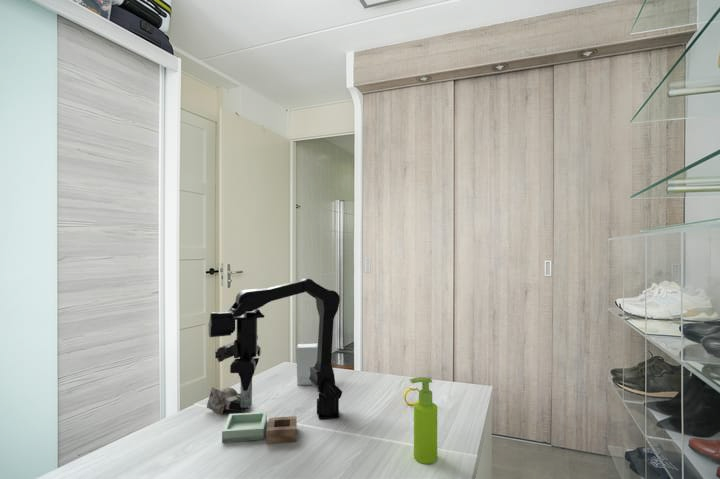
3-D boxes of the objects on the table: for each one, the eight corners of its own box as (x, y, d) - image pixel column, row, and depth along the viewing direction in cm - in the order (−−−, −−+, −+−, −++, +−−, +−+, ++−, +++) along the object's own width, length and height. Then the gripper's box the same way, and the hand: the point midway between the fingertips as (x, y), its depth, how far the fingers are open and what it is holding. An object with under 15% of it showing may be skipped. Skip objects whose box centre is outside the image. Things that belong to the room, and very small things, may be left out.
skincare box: (318, 380, 155) (319, 342, 155) (317, 385, 149) (317, 346, 149) (297, 380, 155) (298, 342, 155) (295, 385, 149) (296, 346, 149)
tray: (266, 421, 118) (266, 411, 118) (263, 439, 107) (263, 428, 107) (229, 424, 116) (229, 414, 116) (221, 442, 105) (222, 431, 105)
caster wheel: (251, 413, 129) (231, 421, 120) (226, 401, 134) (205, 407, 125) (257, 393, 130) (237, 400, 121) (231, 382, 134) (211, 387, 125)
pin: (254, 402, 114) (255, 367, 114) (253, 408, 110) (253, 372, 110) (239, 402, 113) (239, 368, 114) (237, 409, 109) (237, 373, 109)
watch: (419, 403, 133) (420, 385, 133) (422, 406, 130) (423, 388, 131) (402, 402, 132) (403, 385, 133) (404, 406, 130) (406, 388, 130)
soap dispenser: (407, 452, 101) (407, 374, 101) (433, 451, 101) (433, 374, 102) (412, 464, 95) (412, 382, 95) (440, 463, 95) (440, 382, 96)
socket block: (296, 428, 114) (296, 416, 114) (296, 441, 106) (296, 428, 106) (268, 430, 112) (268, 417, 112) (266, 443, 104) (266, 430, 105)
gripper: (224, 327, 120) (223, 378, 120) (210, 342, 101) (209, 402, 101) (261, 326, 122) (260, 376, 121) (254, 341, 103) (253, 400, 103)
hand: (246, 388), depth 112 cm, fingers closed on pin, 4 cm apart
